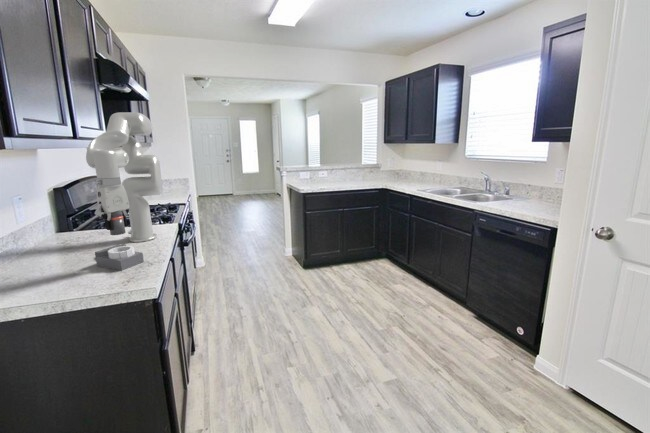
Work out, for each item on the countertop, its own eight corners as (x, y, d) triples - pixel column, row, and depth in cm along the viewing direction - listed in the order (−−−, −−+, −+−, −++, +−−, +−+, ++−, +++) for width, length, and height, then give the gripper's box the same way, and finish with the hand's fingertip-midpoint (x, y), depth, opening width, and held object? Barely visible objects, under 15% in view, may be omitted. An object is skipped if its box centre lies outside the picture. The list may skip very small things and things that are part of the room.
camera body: (97, 266, 137) (94, 251, 135) (119, 258, 146) (117, 243, 144) (122, 270, 132) (119, 254, 130) (143, 261, 141) (141, 246, 139)
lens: (107, 234, 133) (103, 209, 131) (119, 231, 138) (115, 207, 136) (116, 235, 131) (112, 210, 129) (128, 232, 136) (124, 208, 134)
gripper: (94, 185, 121) (103, 234, 125) (135, 180, 137) (142, 223, 141) (80, 185, 124) (89, 232, 128) (122, 179, 139) (129, 222, 143)
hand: (117, 227), depth 134 cm, fingers closed on lens, 5 cm apart
